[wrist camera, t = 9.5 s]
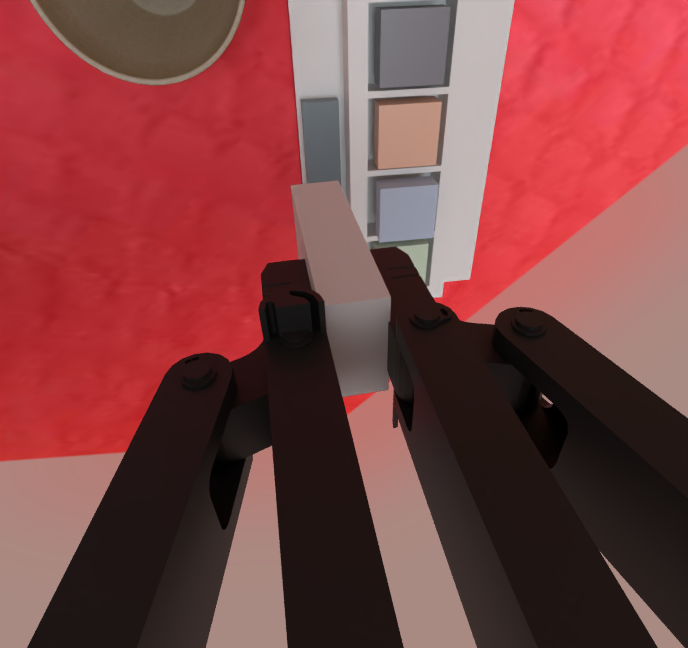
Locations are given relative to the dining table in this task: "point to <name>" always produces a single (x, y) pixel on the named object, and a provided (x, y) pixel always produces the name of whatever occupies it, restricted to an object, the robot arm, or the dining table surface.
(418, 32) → the key charcoal
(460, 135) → the keypad
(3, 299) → the dining table surface
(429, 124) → the key terracotta
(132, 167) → the dining table surface
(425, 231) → the key slate
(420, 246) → the key sage
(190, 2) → the flower pot
